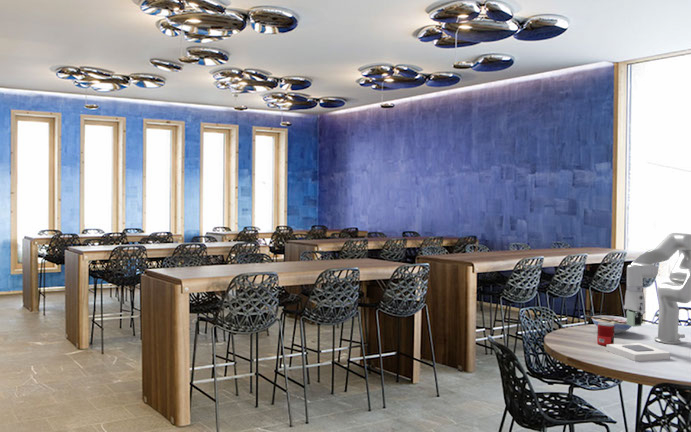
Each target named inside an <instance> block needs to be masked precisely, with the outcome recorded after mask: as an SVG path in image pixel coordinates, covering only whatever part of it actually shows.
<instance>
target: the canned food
mask: <svg viewBox="0 0 691 432" xmlns="http://www.w3.org/2000/svg"><path fill="white" fill-rule="evenodd" d="M614 341H615V334H614V324H613V323H608V322H598V327H597V336H596V344H597V345H599V346H602V347H603V346H604V347H606V344H615V342H614Z"/></svg>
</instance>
